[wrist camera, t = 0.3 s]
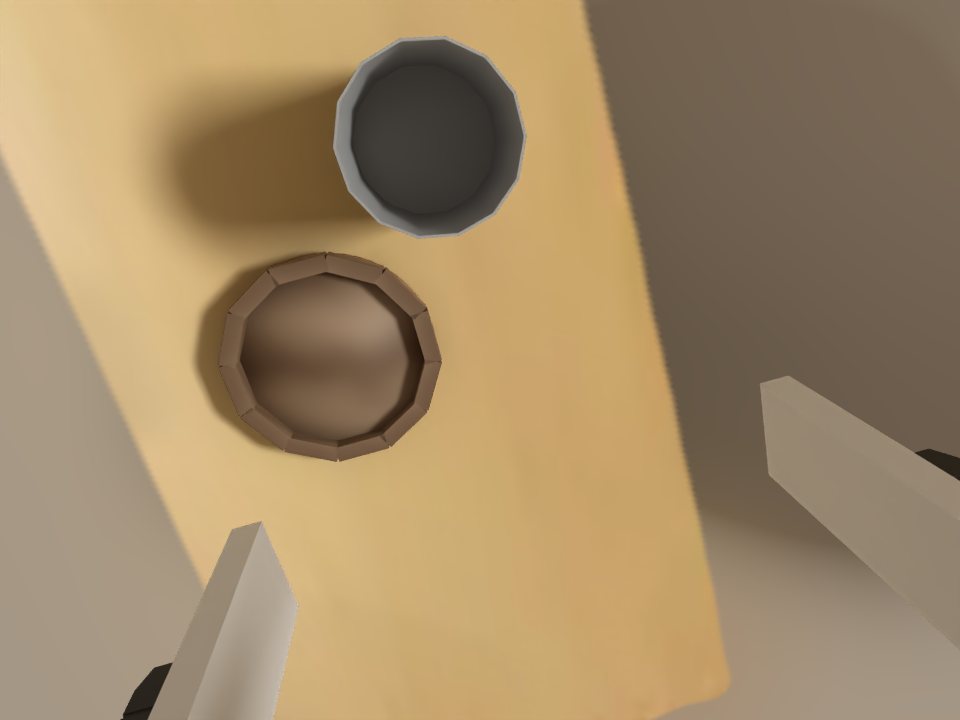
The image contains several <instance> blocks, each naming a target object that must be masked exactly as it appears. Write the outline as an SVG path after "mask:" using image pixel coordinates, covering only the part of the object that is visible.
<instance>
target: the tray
mask: <svg viewBox="0 0 960 720" xmlns="http://www.w3.org/2000/svg"><path fill="white" fill-rule="evenodd" d="M228 311H229V312H228V313H227V316H226V322H225V328H224V334H223V339H222V345H221V351H220V357H219V363H218V365H220V366H219V370H220V372H221V375H222V377H223V379H224V382H225V384H226V387H227V389H228V391H229V394H230V396H231V398H232V401H233V403H234V405H235V408H236V410H237V413H238V415H239V416H240V415H242V417H241V419H242V420H244V421H245V422H246V423H248V424H249V425H250V426H251V427H253V428H254V429H255V430H257V431H258V432H259V433H261V434H262V435H263V436H264V437H266V438H267V439H268V440H270V441H271V442H272V443H273V444H275V445H276V446H277V447H279V448H280V449H281V450H282V451H283V450H284V449H285V448H286V450H285V452H289V453H294V454H299V455H305V456H310V457H315V458H320V459H325V460H330V461H335V462H337V459H339V461H344V460H348V459H351V458H355V457H358V456H362V455H366V454H369V453H373V452H376V451H380V450H384V449H387V448H389V445H390V446H391V447H392V446H393V445H394V444H395V443H396V442H397V441H398V440H399V439H400V438H401V437H402V436H403V435H404V434H405V433H406V432H407V431H408V430H409V429H410V428H411V427H412V426H414V425H415V424H416V423H417V422H418V421H419V420H420V419H421V418H422V417H423V416H424V415H425V414H426V413H427V410H429V406H430V403H431V399H432V396H433V392H434V388H435V385H436V381H437V378H438V374H439V371H440V367H441V363H442V362H441V354H440V351H439V347H438V344H437V341H436V337H435V333H434V329H433V326H432V323H431V320H430V316H429V313H428V309H427V307H426V306H425V304H424V303H423V302H422V301H421V300H420V299H419V298H418V297H417V295H416V294H415V293H414V291H413V290H412V289H411V288H410V287H409V286H408V285H407V284H406V283H405V282H404V281H403V280H401V279H400V278H399V277H398V276H397V275H395V274H394V273H392V272H391V271H390V270H389V269H388V268H384V267H383V266H382V265H379V264H376V263H374V262H372V261H370V260H366V259H363V258H360V257H357V256H352V255H347V254H338V253H332V252H328V253H326V252H323V253H319V254H312V255H306V256H301V257H298V258H295V259H292V260H289V261H287V262H285V263H282V264H278V265H274V266H271V267H270V268H268V269H267V270H266V271H265V272H264V273H263V274H262V275H261V276H260V277H259V279H258V280H257V281H256V282H255V283H254V284H253V285H252V286H251V287H250V288H249V289H248V290H247V291H246V292H245V293H244V294H243V296H242V297H241V298H240V299H239V300H238V301H237V302H236V303H235V304H234V305H233V306H232V307H231V308H230V309H229V310H228Z"/></svg>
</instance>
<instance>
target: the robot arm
mask: <svg viewBox="0 0 960 720" xmlns="http://www.w3.org/2000/svg"><path fill="white" fill-rule="evenodd" d="M760 389H761V398H762V409H763V420H764V429H765V441H766V451H767V461H768V472H769V475H770V476H771V477H772V478H773V479H774V480H775V481H776V482H777V483H779V484H780V485H781V486H782V487H783V488H784V489H785V490H786V491H787V492H788V493H789V494H791V495H792V496H793V497H794V498H795V499H796V500H797V501H798V502H799V503H800V504H801V505H802V506H803V507H805V508H806V509H807V510H808V511H809V512H810V513H811V514H812V515H813V516H814V517H816V518H817V519H818V520H819V521H820V522H821V523H822V524H823V525H824V526H825V527H826V528H827V529H829V530H830V531H831V532H832V533H833V534H834V535H835V536H836V537H837V538H838V539H839V540H841V541H842V542H843V543H844V544H845V545H846V546H847V547H848V548H849V549H850V550H851V551H852V552H854V553H855V554H856V555H857V556H858V557H859V558H860V559H861V560H862V561H863V562H864V563H866V564H867V565H868V566H869V567H870V568H871V569H872V570H873V571H874V572H875V573H876V574H877V575H879V576H880V577H881V578H882V579H883V580H884V581H885V582H886V583H887V584H888V585H890V586H891V587H892V588H893V589H894V590H895V591H896V592H897V593H898V594H899V595H900V596H901V597H903V598H904V599H905V600H906V601H907V602H908V603H909V604H910V605H911V606H912V607H914V609H916V610H917V611H918V612H919V613H920V614H921V615H922V616H923V617H924V618H925V619H926V620H928V621H929V622H930V623H931V624H932V625H933V626H934V627H935V628H936V629H937V630H938V631H940V632H941V633H942V634H943V635H944V636H945V637H946V638H947V639H948V640H950V642H951V643H953V644H954V645H955V646H956V647H957V648H958V649H959V650H960V458H958V457H955V456H951V455H948V454H945V453H941V452H938V451H935V450H932V449H926V450H922V451H919V452H915V453H913V452H912V451H910V450H908V449H907V448H905V447H904V446H902V445H900V444H899V443H897V442H896V441H894V440H892V439H891V438H889V437H887V436H886V435H884V434H882V433H881V432H879V431H877V430H876V429H874V428H873V427H871V426H869V425H868V424H866V423H865V422H863V421H861V420H860V419H858V418H856V417H855V416H853V415H852V414H850V413H848V412H847V411H845V410H843V409H842V408H840V407H838V406H837V405H835V404H834V403H832V402H830V401H829V400H827V399H826V398H824V397H822V396H821V395H819V394H817V393H816V392H814V391H812V390H810V389H809V388H808V387H806V386H804V385H803V384H801V383H799V382H798V381H796V380H795V379H793V378H791V377H790V376H786V377H782V378H779V379H775V380H771V381H768V382H764V383H760ZM298 607H299V606H298V603H297V601H296V599H295V596H294V594H293V592H292V590H291V587H290V585H289V583H288V580H287V578H286V576H285V574H284V571H283V569H282V567H281V564H280V562H279V560H278V557H277V555H276V553H275V551H274V548H273V546H272V544H271V541H270V539H269V537H268V535H267V532H266V530H265V528H264V525H263V523H262V521H261V522H257V523H253V524H250V525H246V526H242V527H239V528H235V529H232V531H231V533H230V535H229V537H228V540H227V542H226V544H225V546H224V549H223V551H222V553H221V555H220V558H219V560H218V562H217V564H216V567H215V569H214V571H213V573H212V576H211V578H210V580H209V582H208V585H207V587H206V589H205V591H204V594H203V596H202V598H201V601H200V603H199V605H198V607H197V610H196V612H195V614H194V616H193V619H192V621H191V623H190V625H189V628H188V630H187V632H186V634H185V637H184V639H183V641H182V643H181V646H180V648H179V650H178V652H177V655H176V657H175V659H174V661H173V663H169V664H166V665H162V666H159V667H155V668H154V669H153V670H152V671H151V672H150V673H149V675H148V676H147V677H146V678H145V679H144V680H143V682H142V683H141V684H140V685H139V686H138V687H137V689H136V690H135V691H134V693H133V695H132V697H131V699H130V701H129V703H128V705H127V707H126V709H125V712H124V713H123V719H121V720H273V717H274V713H275V708H276V704H277V699H278V695H279V691H280V686H281V682H282V677H283V673H284V669H285V664H286V660H287V655H288V651H289V647H290V642H291V638H292V633H293V629H294V625H295V620H296V616H297V611H298Z"/></svg>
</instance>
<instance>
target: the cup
mask: <svg viewBox="0 0 960 720" xmlns="http://www.w3.org/2000/svg"><path fill="white" fill-rule="evenodd" d="M526 137H527V135H526V131H525V127H524V123H523V119H522V115H521V111H520V107H519V103H518V99H517V95H516V91H515V90H514V89H513V88H512V86H511V85H510V84H509V83H508V81H507V80H506V79H505V78H504V76H503V75H502V74H501V73H500V71H499V70H498V69H497V68H496V66H495V65H494V64H493V63H492V61H491V60H490V59H489V58H488V56H487V55H485V54H483V53H480V52H478V51H476V50H474V49H472V48H470V47H468V46H466V45H463V44H461V43H459V42H457V41H455V40H453V39H451V38H449V37H446V36H434V37H414V38H399V39H398V40H396V41H395V42H393V43H391V44H390V45H388V46H386V47H385V48H383V49H381V50H380V51H378V52H377V53H375V54H373V55H372V56H370V57H368V58H367V59H365V60H363V61H362V62H361V63H360V64H359V66H358V68H357V69H356V71H355V73H354V74H353V76H352V78H351V80H350V81H349V83H348V85H347V86H346V88H345V90H344V91H343V93H342V95H341V96H340V98H339V100H338V101H337V109H336V120H335V131H334V143H333V150H334V153H335V155H336V158H337V161H338V164H339V167H340V169H341V172H342V175H343V178H344V181H345V184H346V186H347V189H348V192H349V193H350V194H351V195H352V196H353V197H354V198H355V199H356V200H357V201H358V202H359V203H360V204H361V205H362V206H363V207H364V208H365V209H366V211H367V212H368V213H369V214H370V215H371V216H372V217H373V218H374V219H375V220H376V221H377V222H378V223H379V224H382V225H384V226H387V227H389V228H392V229H394V230H397V231H400V232H402V233H405V234H407V235H410V236H412V237H415V238H418V239H422V238H435V237H448V236H460V235H461V234H463V233H465V232H466V231H468V230H470V229H472V228H473V227H475V226H477V225H478V224H480V223H482V222H484V221H485V220H487V219H489V218H490V217H492V216H494V215H495V214H496V213H497V211H498V210H499V208H500V207H501V205H502V204H503V202H504V201H505V199H506V198H507V196H508V195H509V194H510V192H511V191H512V189H513V188H514V186H515V185H516V183H517V182H518V180H519V177H520V171H521V166H522V160H523V154H524V149H525V143H526Z"/></svg>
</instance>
